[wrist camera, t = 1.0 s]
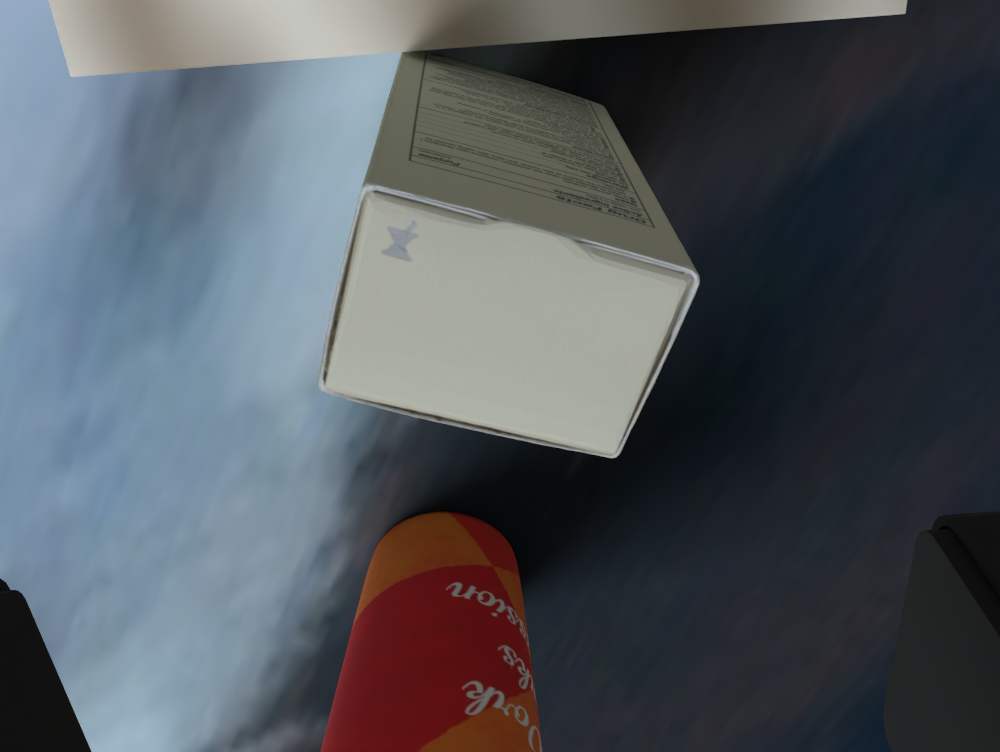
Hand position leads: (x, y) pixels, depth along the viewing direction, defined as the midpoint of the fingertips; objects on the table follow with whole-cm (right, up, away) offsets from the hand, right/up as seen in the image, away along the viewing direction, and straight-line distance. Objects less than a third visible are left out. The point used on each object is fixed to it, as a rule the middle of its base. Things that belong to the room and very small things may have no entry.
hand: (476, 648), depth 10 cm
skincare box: (0, +10, +17) cm, 20 cm away
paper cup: (-2, -4, +25) cm, 26 cm away
